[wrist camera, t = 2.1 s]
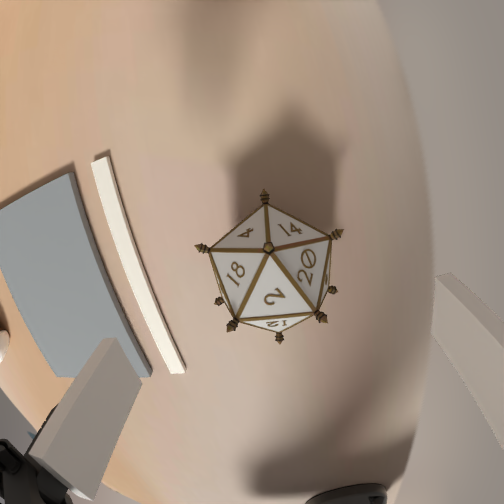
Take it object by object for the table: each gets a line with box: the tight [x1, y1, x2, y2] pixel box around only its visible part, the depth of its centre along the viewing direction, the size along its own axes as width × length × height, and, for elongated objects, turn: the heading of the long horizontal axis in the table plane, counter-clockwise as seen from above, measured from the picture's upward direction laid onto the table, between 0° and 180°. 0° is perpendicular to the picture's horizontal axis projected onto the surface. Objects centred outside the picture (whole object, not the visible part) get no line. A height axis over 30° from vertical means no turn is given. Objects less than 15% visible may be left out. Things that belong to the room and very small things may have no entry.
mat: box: [0, 172, 152, 378], centre depth 24 cm, size 20×14×1 cm
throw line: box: [91, 156, 186, 374], centre depth 23 cm, size 20×2×1 cm, turn 14°
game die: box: [194, 189, 344, 344], centre depth 18 cm, size 9×8×10 cm
